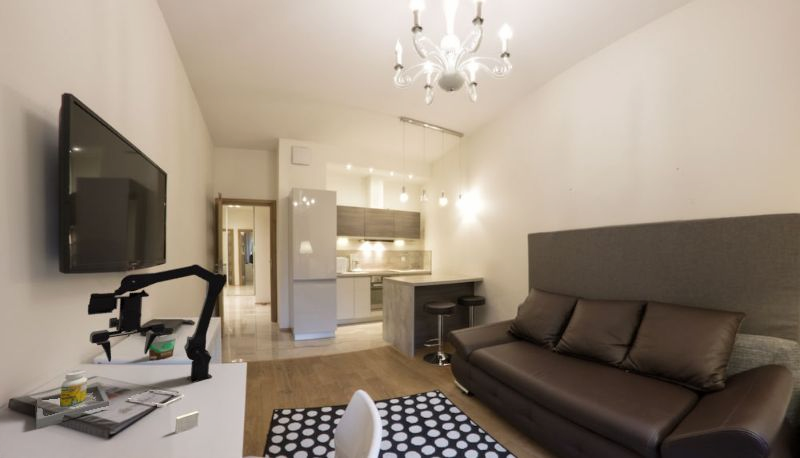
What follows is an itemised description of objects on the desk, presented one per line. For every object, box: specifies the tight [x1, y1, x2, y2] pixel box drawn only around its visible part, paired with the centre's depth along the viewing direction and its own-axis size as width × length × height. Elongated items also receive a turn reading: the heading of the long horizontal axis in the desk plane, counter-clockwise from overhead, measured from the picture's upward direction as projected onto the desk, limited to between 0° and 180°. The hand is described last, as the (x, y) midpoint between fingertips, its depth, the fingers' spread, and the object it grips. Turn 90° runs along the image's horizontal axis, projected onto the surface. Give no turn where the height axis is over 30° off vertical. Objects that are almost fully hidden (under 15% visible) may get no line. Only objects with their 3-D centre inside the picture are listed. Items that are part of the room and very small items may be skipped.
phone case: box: [127, 389, 185, 408], centre depth 99 cm, size 7×1×15 cm
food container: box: [148, 331, 178, 361], centre depth 139 cm, size 12×6×10 cm, turn 168°
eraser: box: [174, 410, 200, 434], centre depth 82 cm, size 1×5×4 cm, turn 137°
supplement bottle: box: [60, 369, 88, 408], centre depth 92 cm, size 5×5×10 cm
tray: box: [35, 384, 110, 430], centre depth 92 cm, size 18×14×2 cm
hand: (128, 357), depth 104 cm, fingers open, 9 cm apart
